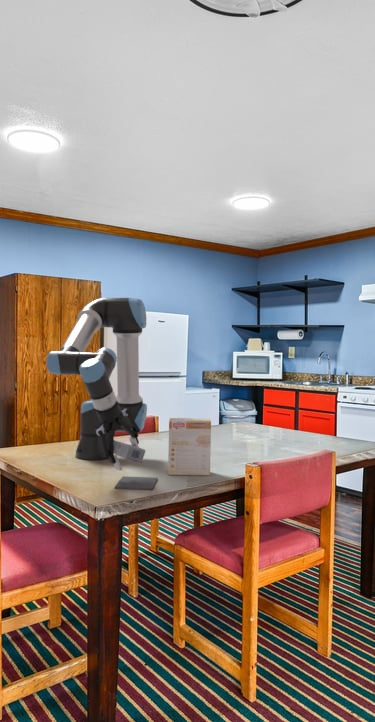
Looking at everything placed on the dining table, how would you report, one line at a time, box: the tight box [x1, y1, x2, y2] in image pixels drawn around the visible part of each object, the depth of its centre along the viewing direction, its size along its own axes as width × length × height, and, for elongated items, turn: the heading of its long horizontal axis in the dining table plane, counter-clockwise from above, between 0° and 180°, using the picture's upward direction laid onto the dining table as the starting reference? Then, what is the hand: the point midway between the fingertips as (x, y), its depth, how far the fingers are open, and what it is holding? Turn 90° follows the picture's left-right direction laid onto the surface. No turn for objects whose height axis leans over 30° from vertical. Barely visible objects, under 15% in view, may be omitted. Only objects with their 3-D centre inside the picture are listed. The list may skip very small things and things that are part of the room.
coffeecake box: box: [167, 417, 212, 476], centre depth 189 cm, size 15×7×20 cm, turn 92°
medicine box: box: [114, 439, 147, 463], centre depth 174 cm, size 8×4×9 cm
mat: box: [114, 475, 159, 491], centre depth 172 cm, size 14×12×1 cm
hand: (128, 460), depth 178 cm, fingers closed on medicine box, 8 cm apart
